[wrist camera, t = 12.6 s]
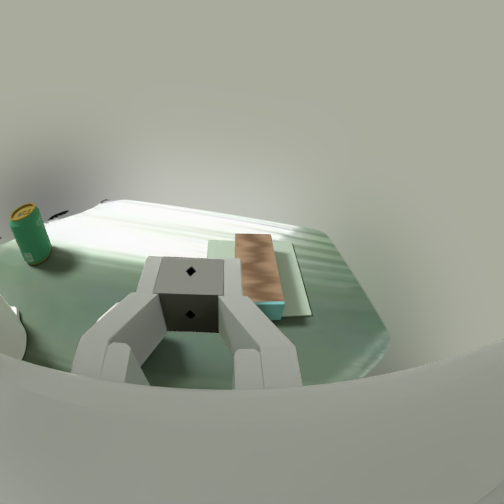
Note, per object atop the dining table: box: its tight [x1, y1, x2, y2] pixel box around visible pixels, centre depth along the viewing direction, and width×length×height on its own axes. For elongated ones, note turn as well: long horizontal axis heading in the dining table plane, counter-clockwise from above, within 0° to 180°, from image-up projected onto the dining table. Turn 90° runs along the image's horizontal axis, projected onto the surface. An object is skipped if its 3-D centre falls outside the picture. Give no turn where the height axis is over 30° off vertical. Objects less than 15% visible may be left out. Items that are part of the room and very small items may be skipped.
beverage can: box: [10, 203, 51, 265], centre depth 47 cm, size 8×8×12 cm
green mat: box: [207, 240, 311, 317], centre depth 53 cm, size 18×20×1 cm
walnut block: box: [235, 234, 285, 320], centre depth 50 cm, size 7×4×18 cm
